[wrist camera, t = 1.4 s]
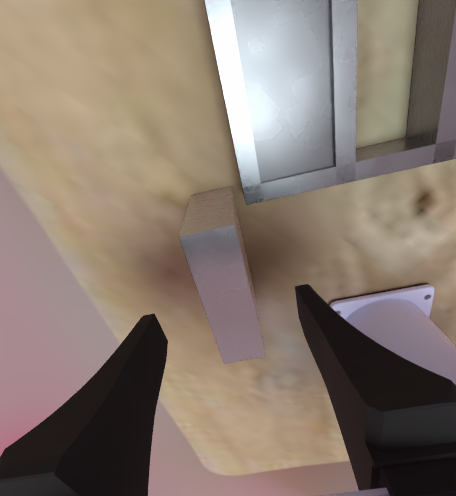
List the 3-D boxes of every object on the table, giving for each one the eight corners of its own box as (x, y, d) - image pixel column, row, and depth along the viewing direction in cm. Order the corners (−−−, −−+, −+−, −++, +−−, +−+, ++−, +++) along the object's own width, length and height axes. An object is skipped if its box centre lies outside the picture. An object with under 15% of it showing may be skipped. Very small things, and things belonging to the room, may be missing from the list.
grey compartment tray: (510, 130, 16) (565, 137, 13) (243, 191, 17) (246, 207, 15) (618, -266, 9) (766, -401, 7) (180, -117, 11) (167, -182, 8)
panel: (254, 293, 21) (265, 356, 16) (223, 299, 22) (223, 363, 16) (230, 185, 17) (234, 224, 12) (191, 194, 17) (178, 236, 12)
